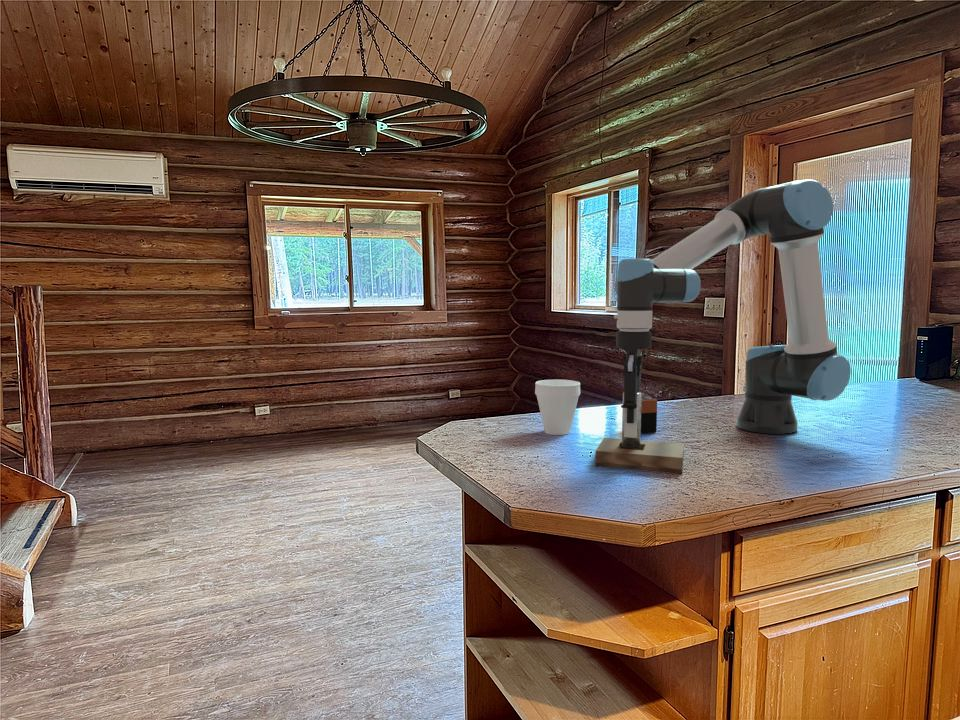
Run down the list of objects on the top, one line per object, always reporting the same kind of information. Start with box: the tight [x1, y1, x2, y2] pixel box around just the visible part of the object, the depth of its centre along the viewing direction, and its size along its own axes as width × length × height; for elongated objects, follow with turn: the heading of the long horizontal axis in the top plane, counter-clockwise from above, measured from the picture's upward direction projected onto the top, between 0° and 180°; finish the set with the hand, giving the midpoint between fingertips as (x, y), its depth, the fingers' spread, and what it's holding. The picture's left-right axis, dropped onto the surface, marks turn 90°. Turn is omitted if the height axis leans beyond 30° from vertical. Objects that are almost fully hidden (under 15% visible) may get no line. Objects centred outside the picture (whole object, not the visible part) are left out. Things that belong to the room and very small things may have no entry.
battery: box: [640, 392, 658, 434], centre depth 166 cm, size 4×7×10 cm, turn 17°
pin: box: [621, 391, 643, 448], centre depth 135 cm, size 4×4×12 cm
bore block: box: [594, 437, 685, 475], centre depth 136 cm, size 18×13×4 cm
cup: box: [534, 379, 581, 436], centre depth 165 cm, size 12×12×14 cm
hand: (631, 434), depth 136 cm, fingers closed on pin, 4 cm apart
